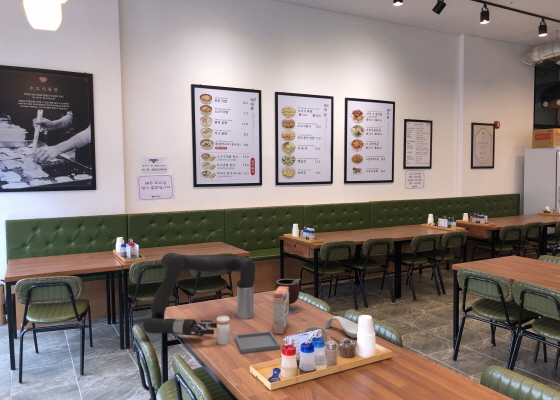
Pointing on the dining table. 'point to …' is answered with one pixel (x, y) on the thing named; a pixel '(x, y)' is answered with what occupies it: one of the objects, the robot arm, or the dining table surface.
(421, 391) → the dining table surface
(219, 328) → the salt shaker
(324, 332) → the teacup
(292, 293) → the mate gourd
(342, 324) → the spoon rest
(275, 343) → the tray
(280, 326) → the cracker box
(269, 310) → the dining table surface
